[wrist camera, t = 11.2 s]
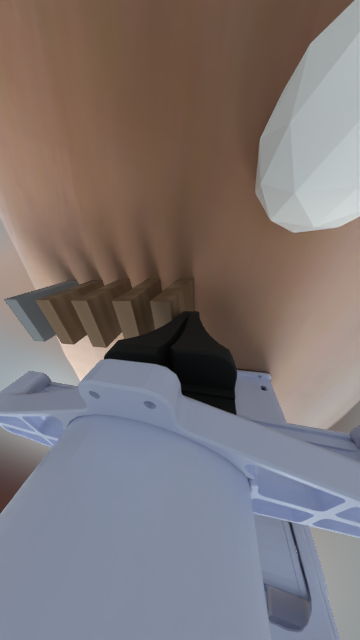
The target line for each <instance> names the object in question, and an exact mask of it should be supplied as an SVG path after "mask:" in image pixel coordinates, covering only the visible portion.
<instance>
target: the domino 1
mask: <svg viewBox="0 0 360 640" xmlns="http://www.w3.org/2000/svg"><path fill="white" fill-rule="evenodd" d="M78 285H79V284H78V282H77V281H66V282H62V283H59V284H56V285H52V286H49V287H45V288H42V289H38V290H35V291H31V292H28V293H24V294H21V295H18V296H14V297H11V298H7V299H4V300H5V302H6V303H7V304H8V306H9V307H10V309H11V310H12V311H13V313H14V314H15V315H16V317H17V318H18V319H19V321H20V322H21V323H22V325H23V326H24V328H25V329H26V330H27V332H28V333H29V334H30V336H31V337H32V338H33V340H34V341H44V342H45V341H46V340H48V339H50V338H51V337H53V336H55V335H56V333H55V331H54V330H53V328H52V326H51V325H50V323H49V322H48V320H47V318H46V317H45V315H44V313H43V312H42V310H41V309H40V307H39V305H38V304H37V302H36V300H37V299H40V298H43V297H46V296H48V295H51V294H54V293H57V292H60V291H63V290H66V289H69V288H72V287H75V286H78Z"/></svg>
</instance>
